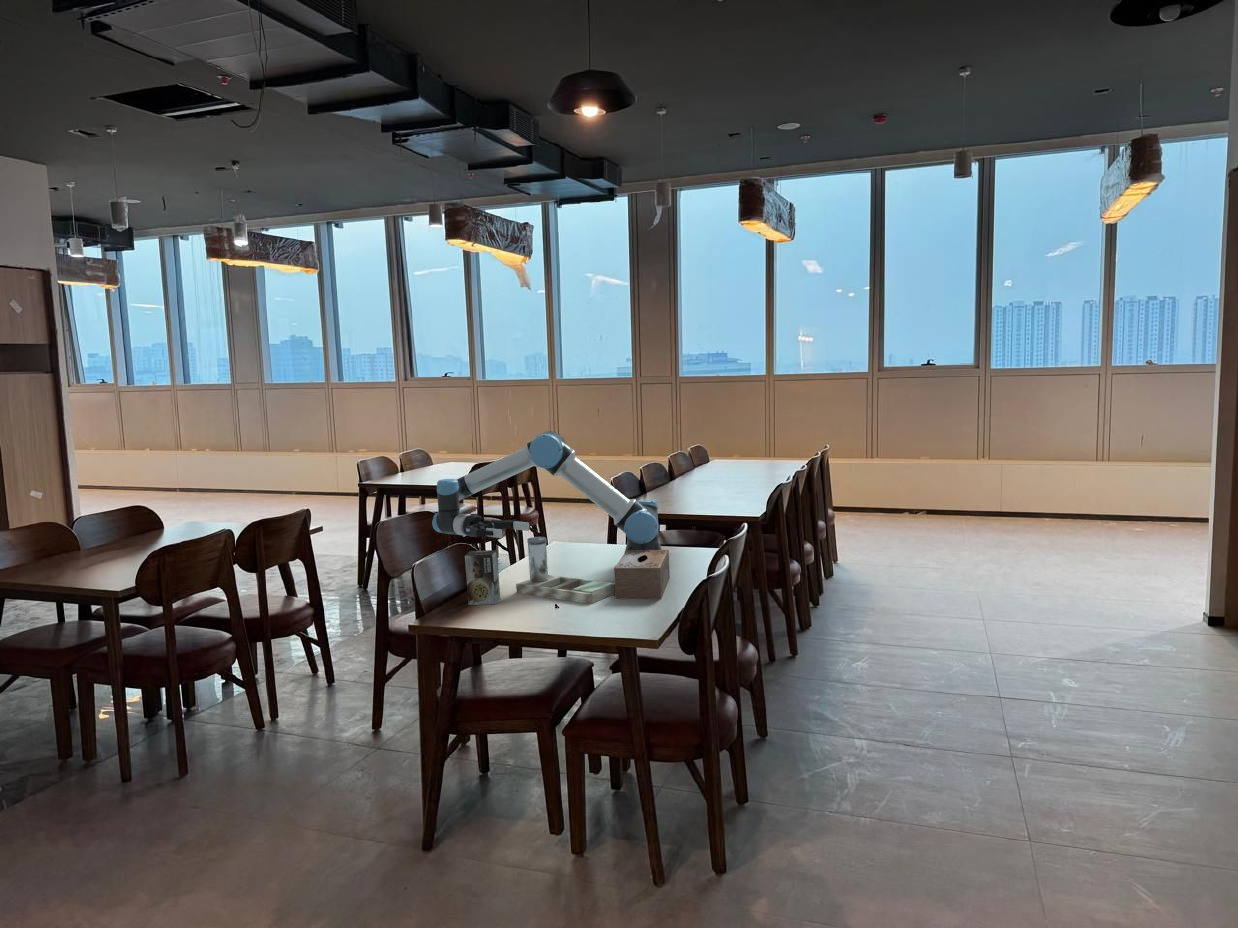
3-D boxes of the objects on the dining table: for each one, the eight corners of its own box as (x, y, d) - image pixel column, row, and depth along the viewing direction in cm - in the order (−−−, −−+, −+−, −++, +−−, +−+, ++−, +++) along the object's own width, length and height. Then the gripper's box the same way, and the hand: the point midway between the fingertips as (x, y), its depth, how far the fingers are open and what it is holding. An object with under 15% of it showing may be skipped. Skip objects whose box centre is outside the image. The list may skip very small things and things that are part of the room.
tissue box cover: (627, 578, 282) (626, 550, 281) (669, 578, 280) (668, 549, 278) (615, 599, 257) (614, 568, 256) (661, 599, 254) (660, 567, 253)
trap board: (516, 592, 269) (515, 582, 268) (543, 582, 280) (543, 573, 280) (590, 603, 252) (589, 592, 252) (616, 592, 263) (615, 582, 263)
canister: (549, 577, 275) (547, 536, 273) (547, 582, 269) (544, 540, 267) (531, 578, 275) (528, 537, 274) (528, 582, 269) (526, 540, 267)
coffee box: (501, 599, 262) (498, 549, 260) (496, 604, 256) (492, 554, 254) (473, 599, 263) (469, 550, 261) (467, 605, 256) (464, 554, 255)
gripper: (494, 529, 298) (539, 534, 286) (443, 542, 277) (490, 548, 265) (493, 509, 297) (538, 513, 285) (442, 520, 276) (489, 525, 264)
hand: (515, 530), depth 275 cm, fingers open, 13 cm apart
